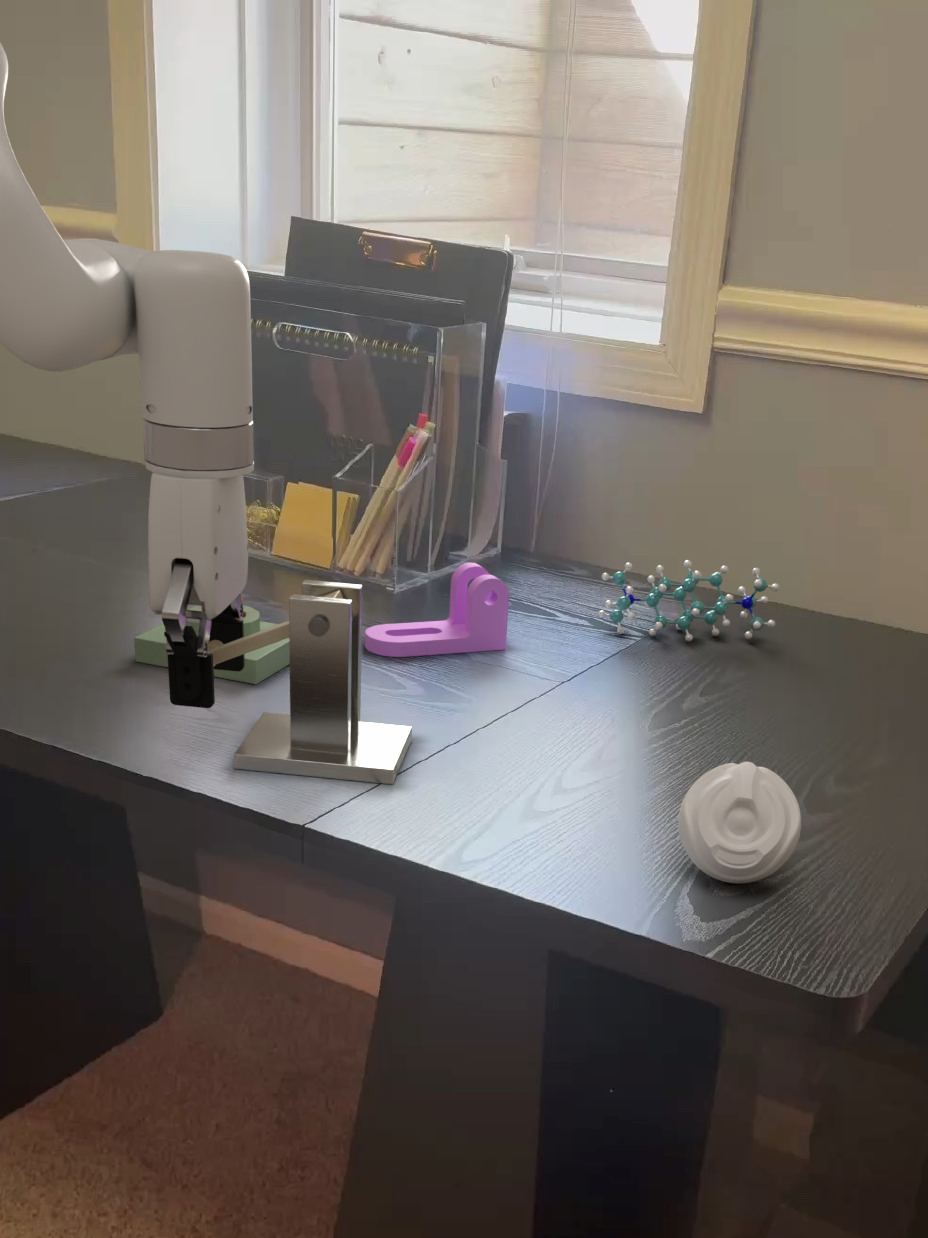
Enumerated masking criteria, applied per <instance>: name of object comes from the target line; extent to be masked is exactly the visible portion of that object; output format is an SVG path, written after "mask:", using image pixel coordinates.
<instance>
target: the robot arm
mask: <svg viewBox="0 0 928 1238" xmlns="http://www.w3.org/2000/svg"><path fill="white" fill-rule="evenodd" d="M8 80H9V61H8V57H7V53H6V51H5V49H4V46H3V44H2V43H1V42H0V344H1V345H2V346H3V347H4V348H5V349H6V350H7V351H8V352H9V353H10V354H11V355H13V356H14V357H16V358H17V359H19V360H20V361H21V362H23V363H24V364H27V365H29V366H31V367H33V368H36V369H39V370H43V371H47V372H66V371H67V372H68V371H72V370H75V369H79V368H81V367H84V366H88V365H90V364H92V363H95V362H100V361H104V360H108V359H112V358H116V357H119V356H124V355H136V354H137V355H138V369H139V386H140V387H139V388H140V405H141V416H142V418H141V419H142V436H143V438H142V439H143V453H144V454H143V455H144V467H145V469H146V470H148V471H149V472H152V473H151V475H150V476H151V477H150V484H149V485H150V486H149V497H148V515H147V516H148V519H147V521H148V522H147V535H148V536H147V552H148V553H147V554H148V555H147V560H148V562H147V563H148V565H147V566H148V603H149V608H150V610H151V611H152V613H154V615H158V616H160V615H161V621H162V624H164V626H165V630H166V632H164V635H165V637H166V639H167V641H166V652H167V654H168V667H167V670H168V671H167V672H168V689H169V701H170V703H171V704H172V705H173V706H179V707H191V708H199V709H211V708H212V707H213V706H214V705H215V703H216V696H215V695H216V694H215V677H214V669H217V670H227V671H241V670H242V669H243V668H244V666H245V661H244V654H243V655H240V656H237V657H235V658H232V659H229V660H226V661H224V662H221V663H218V664H216V665H215V666H213V654H208V647H209V642H210V641H212V640H219V641H221V642H222V643H223V644H227V643H229V642H232V641H235V640H237V639H240V638H243V637H244V624H243V620H236V619H242V617H243V606H244V603H242V599H243V598H242V595H241V593H242V592H243V591H244V589H245V587H246V585H247V582H248V575H249V574H248V573H249V540H248V539H249V538H248V537H249V536H248V519H247V503H246V487H245V481H244V476H247V475H250V474H252V472H254V471H255V448H254V445H255V444H254V443H255V442H254V439H255V438H254V413H253V412H254V409H253V407H254V406H253V401H254V400H253V358H252V356H253V353H252V312H251V311H252V310H251V309H252V305H251V303H252V302H251V285H250V284H251V283H250V277H249V274H248V271H247V268H246V267H245V266H244V264H243V263H242V262H241V261H240V260H239V259H237V258H236V257H233V256H232V255H228V254H223V253H218V252H212V251H201V250H185V249H183V250H182V249H162V250H152V249H147V248H146V249H145V248H140V247H137V246H133V245H129V244H124V243H120V242H115V241H110V240H106V239H100V238H92V237H89V238H88V237H82V238H81V237H80V238H74V239H73V238H71V239H70V238H69V239H63V238H62V236H61V234H60V233H59V231H58V230H57V228H56V227H55V225H54V224H53V222H52V221H51V219H50V217H49V216H48V214H47V213H46V211H45V209H44V208H43V206H42V205H41V202H40V201H39V199H38V198H37V196H36V194H35V193H34V191H33V189H32V187H31V185H30V184H29V182H28V180H27V178H26V176H25V174H24V173H23V170H22V168H21V166H20V164H19V161H18V160H17V157H16V154H15V153H14V150H13V147H12V144H11V141H10V138H9V136H8V131H7V126H6V121H5V114H4V113H5V111H4V107H5V106H4V105H5V97H6V90H7V84H8ZM241 598H242V599H241ZM188 606H203V611H194V610H188ZM187 622H198V623H199V630H198V637H197V635H196V633H195V631H194V629H193V627H192V626H187Z"/></svg>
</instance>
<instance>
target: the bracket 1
mask: <svg viewBox="0 0 928 1238" xmlns="http://www.w3.org/2000/svg"><path fill="white" fill-rule="evenodd" d="M338 590H340V592H341V594H342V596H343V599H336V598H326V597H322V596H325V595H327V594H330V593H333V592H336V591H338ZM288 616H289V617H288V621H289V647H290V664H289V714H286V713H276V712H268V711H267V712H265V711H264V712H263V713H262V714H261V716H260V717H259V719H258V720H257V722H256V723H255V724H254V726H253V727H252V728H251V730H250V731H249V733H248V734H247V735H246V737H245V738H244V740H243V741H242V742H241V744H240V745H239V746H238V747H237V749H236V750H235V752H234V753H233V767H234V769H235V770H245V771H254V772H264V773H276V774H284V775H295V776H296V775H297V776H303V777H304V776H305V777H316V778H325V779H335V780H345V781H353V782H354V781H356V782H363V783H365V782H367V783H375V784H383V785H393V784H394V782H395V780H396V778H397V775H398V773H399V772H400V768H401V766H402V764H403V761H404V760H405V757H406V754H407V752H408V750H409V747H410V744H411V743H412V740H413V727H412V726H411V725H410V726H408V725H398V724H390V723H389V724H388V723H378V722H370V721H369V722H368V721H361V708H362V707H361V706H362V705H361V702H362V699H361V698H362V646H363V645H362V641H363V637H362V635H363V584H355V583H345V582H335V581H321V580H312V579H304V580H303V581H302V582H301V594H291V595H290V596H289V598H288ZM352 619H353V620H352Z"/></svg>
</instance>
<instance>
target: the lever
mask: <svg viewBox="0 0 928 1238" xmlns="http://www.w3.org/2000/svg"><path fill="white" fill-rule="evenodd" d="M322 597H326V598H336V599H343V596H342V594H341V592H340V590H338V591H336V592H333V593H330V594H327V595H325V596H322ZM352 620H353V619H352ZM277 624H278V625H275V626H273V627H270V628H267V629H265V630H262V631H259V632H256V633H254V634H251V635H248V636H246V637H243V638H240V639H237V640H235V641H232V642H229V643H227V644H223V643H222V642H221V641H219V640H212V641H210V642H209V647H208V654H213V666H215V665H216V664H218V663H221V662H224V661H226V660H229V659H232V658H235V657H237V656H240V655H243V654H246V653H248V652H251V651H254V650H257V649H259V648H262V647H265V646H267V645H270V644H273V643H276V642H278V641H281V640H284V639H287V638H289V620H287V621H284V622H281V623H277Z"/></svg>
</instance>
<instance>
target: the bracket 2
mask: <svg viewBox="0 0 928 1238" xmlns="http://www.w3.org/2000/svg"><path fill="white" fill-rule="evenodd" d="M471 580H472V581H471ZM470 582H471V583H470ZM469 583H470V584H469ZM468 585H469V586H468ZM449 590H450V592H449V614H448V617H447V618H446V619H444V620H433V621H432V620H429V621H415V622H414V621H413V622H399V623H382V624H376V625H372V626H369V627H368V628H366V629H365V632H364V633H365V636H364V637H365V639H364V647H365V649H366V651H368V652H370V653H372V654H375V655H379V656H384V657H392V658H406V657H407V658H408V657H421V656H422V657H423V656H434V655H436V656H437V655H447V654H461V653H462V654H463V653H476V652H490V651H503V650H504V651H505V650H507V649H506V648H507V633H508V619H509V605H510V590H509V588H508V586H507V584H506V583H505V582H503V581H502V580H501V579H500V578H498V577H497V576H495V575H494V574H490V572H489V571H488V570H487V569H486V568H485V567H483V566H481V565H480V564H478V563H476V562H465V563H462V564H461V565H459V566H458V567H457V568H456V569H455V570H454V572H453V573H452V576H451V579H450V589H449Z"/></svg>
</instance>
